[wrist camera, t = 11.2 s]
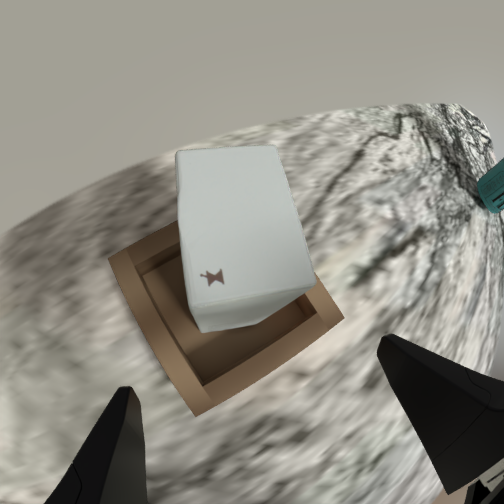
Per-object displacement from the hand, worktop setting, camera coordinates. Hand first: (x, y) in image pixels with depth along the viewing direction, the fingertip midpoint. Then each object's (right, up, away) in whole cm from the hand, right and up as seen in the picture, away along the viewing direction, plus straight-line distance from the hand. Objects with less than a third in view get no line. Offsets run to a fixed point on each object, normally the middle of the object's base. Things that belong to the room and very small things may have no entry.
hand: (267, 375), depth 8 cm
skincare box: (-3, +1, +12) cm, 12 cm away
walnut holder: (-3, 0, +13) cm, 13 cm away
